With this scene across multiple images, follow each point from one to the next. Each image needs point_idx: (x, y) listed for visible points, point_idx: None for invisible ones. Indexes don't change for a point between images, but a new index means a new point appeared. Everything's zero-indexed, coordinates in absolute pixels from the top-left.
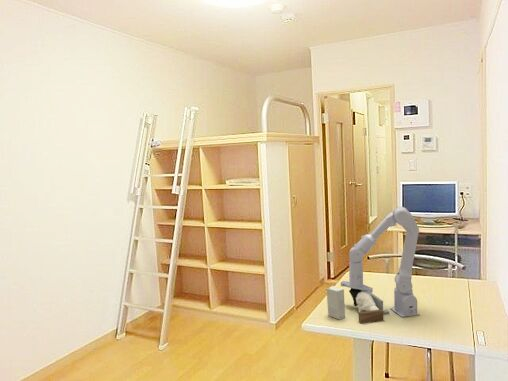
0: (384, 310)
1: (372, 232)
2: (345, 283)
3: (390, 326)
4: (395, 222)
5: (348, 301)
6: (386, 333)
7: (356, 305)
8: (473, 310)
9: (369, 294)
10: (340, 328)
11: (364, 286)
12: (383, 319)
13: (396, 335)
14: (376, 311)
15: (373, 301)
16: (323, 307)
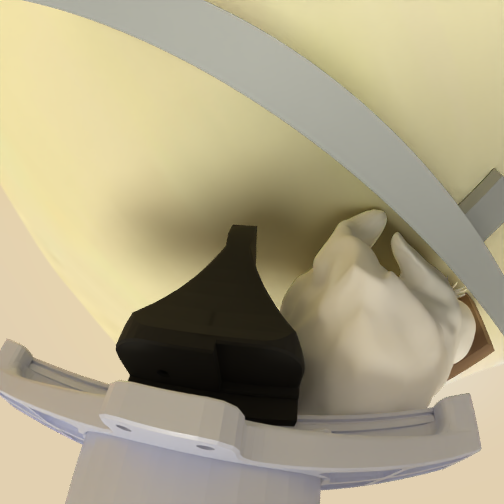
0: (491, 195)
1: None
2: (76, 441)
3: (493, 329)
4: None
5: (98, 134)
6: (469, 370)
7: (255, 262)
8: None
9: (428, 405)
10: None
11: (344, 453)
12: (476, 307)
13: (496, 362)
14: (455, 374)
15: (452, 366)
16: (98, 311)
